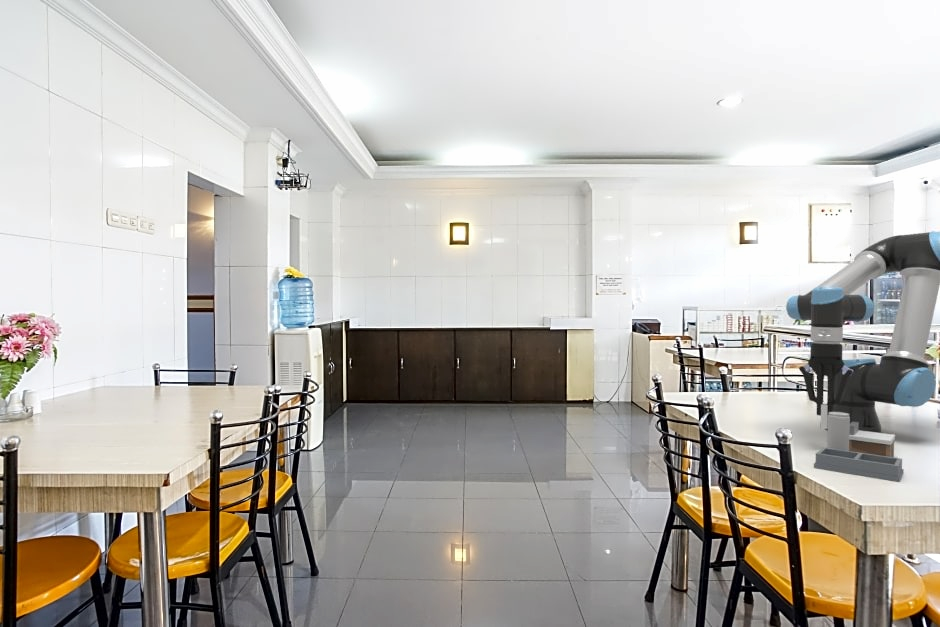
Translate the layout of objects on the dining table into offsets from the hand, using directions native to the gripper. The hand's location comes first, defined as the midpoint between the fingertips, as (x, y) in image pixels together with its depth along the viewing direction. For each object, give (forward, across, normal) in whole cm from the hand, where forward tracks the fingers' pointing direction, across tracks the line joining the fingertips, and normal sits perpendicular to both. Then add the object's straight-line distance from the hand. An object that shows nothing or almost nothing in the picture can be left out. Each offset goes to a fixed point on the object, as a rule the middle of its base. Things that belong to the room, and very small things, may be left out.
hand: (824, 427), depth 160 cm
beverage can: (+7, +5, -8) cm, 12 cm away
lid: (+1, +11, 0) cm, 11 cm away
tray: (+6, +11, 0) cm, 12 cm away
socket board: (+6, +10, -17) cm, 21 cm away
